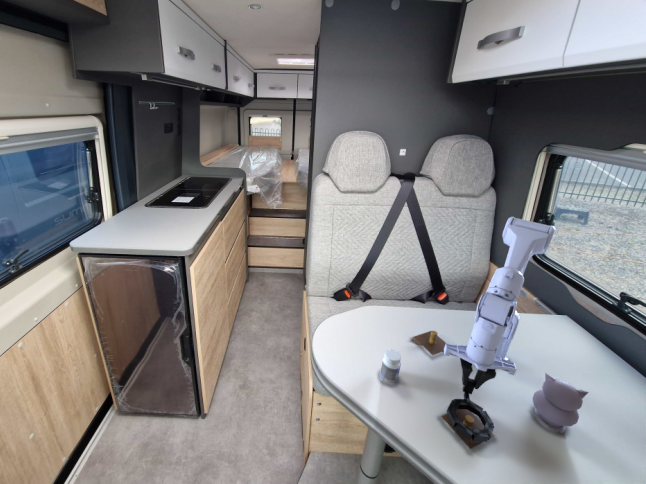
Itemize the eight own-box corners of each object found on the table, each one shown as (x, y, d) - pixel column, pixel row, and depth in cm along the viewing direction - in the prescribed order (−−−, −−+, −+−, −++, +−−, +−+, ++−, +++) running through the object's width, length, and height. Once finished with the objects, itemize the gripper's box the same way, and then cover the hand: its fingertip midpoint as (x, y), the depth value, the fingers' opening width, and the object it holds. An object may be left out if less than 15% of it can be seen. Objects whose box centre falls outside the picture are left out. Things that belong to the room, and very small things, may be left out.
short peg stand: (463, 408, 77) (466, 398, 76) (493, 438, 70) (497, 428, 69) (439, 419, 74) (442, 409, 73) (468, 452, 67) (473, 442, 66)
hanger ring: (496, 450, 65) (504, 432, 63) (447, 431, 69) (453, 414, 67) (486, 401, 76) (492, 385, 74) (444, 387, 79) (449, 371, 77)
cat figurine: (525, 420, 75) (542, 385, 70) (528, 398, 80) (543, 364, 76) (571, 445, 70) (592, 408, 65) (570, 420, 75) (590, 384, 71)
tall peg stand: (430, 333, 101) (434, 321, 100) (451, 351, 95) (454, 338, 93) (412, 339, 98) (415, 327, 97) (431, 358, 92) (435, 345, 90)
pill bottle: (398, 387, 82) (403, 363, 79) (380, 383, 83) (384, 360, 80) (396, 372, 86) (401, 349, 83) (378, 369, 87) (383, 346, 84)
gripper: (451, 343, 70) (438, 386, 75) (526, 364, 65) (507, 409, 70) (449, 323, 76) (437, 364, 81) (518, 341, 71) (500, 384, 76)
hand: (469, 384), depth 76 cm, fingers closed on hanger ring
